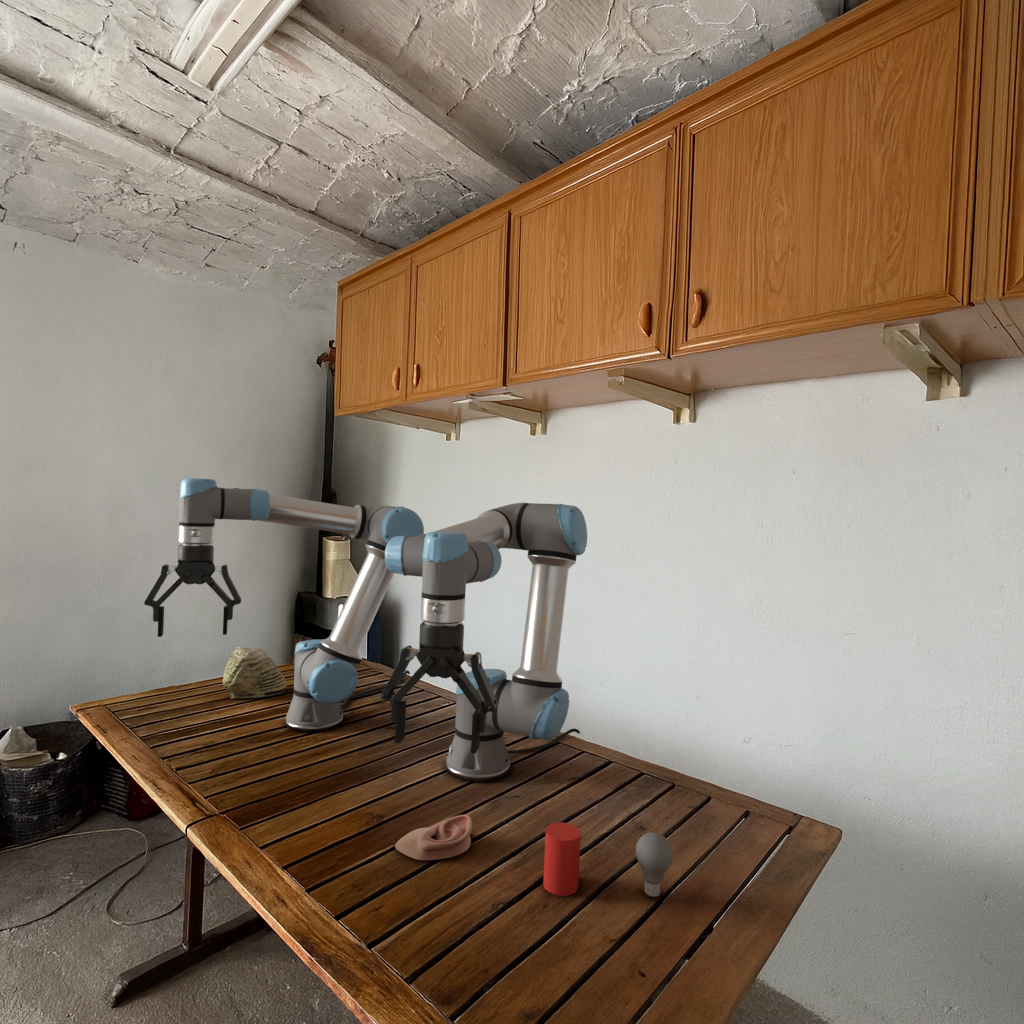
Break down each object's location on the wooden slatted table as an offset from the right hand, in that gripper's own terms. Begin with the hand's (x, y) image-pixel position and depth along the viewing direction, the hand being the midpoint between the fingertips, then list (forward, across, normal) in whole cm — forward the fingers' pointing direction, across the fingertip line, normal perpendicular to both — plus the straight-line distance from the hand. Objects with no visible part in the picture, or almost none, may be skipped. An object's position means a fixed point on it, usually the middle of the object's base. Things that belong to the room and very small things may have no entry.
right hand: (436, 745), depth 109 cm
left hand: (-8, -69, +26) cm, 74 cm away
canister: (+22, +22, +2) cm, 31 cm away
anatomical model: (+22, -2, +8) cm, 23 cm away
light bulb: (+22, +37, +4) cm, 43 cm away
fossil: (+22, -84, +73) cm, 113 cm away
